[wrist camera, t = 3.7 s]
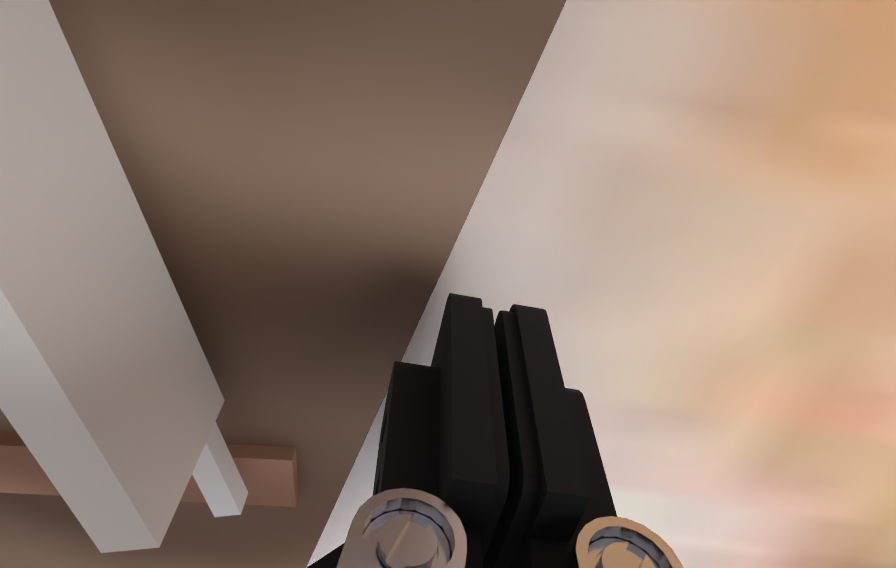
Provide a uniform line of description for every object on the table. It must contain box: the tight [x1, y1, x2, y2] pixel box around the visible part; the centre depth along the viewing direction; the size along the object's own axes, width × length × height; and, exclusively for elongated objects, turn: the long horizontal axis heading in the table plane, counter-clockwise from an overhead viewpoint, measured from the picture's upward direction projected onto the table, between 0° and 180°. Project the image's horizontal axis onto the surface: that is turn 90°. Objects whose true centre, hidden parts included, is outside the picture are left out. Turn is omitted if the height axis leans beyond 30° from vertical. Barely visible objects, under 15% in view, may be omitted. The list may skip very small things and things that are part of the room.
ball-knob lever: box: [0, 0, 248, 553], centre depth 9 cm, size 16×4×4 cm, turn 8°
